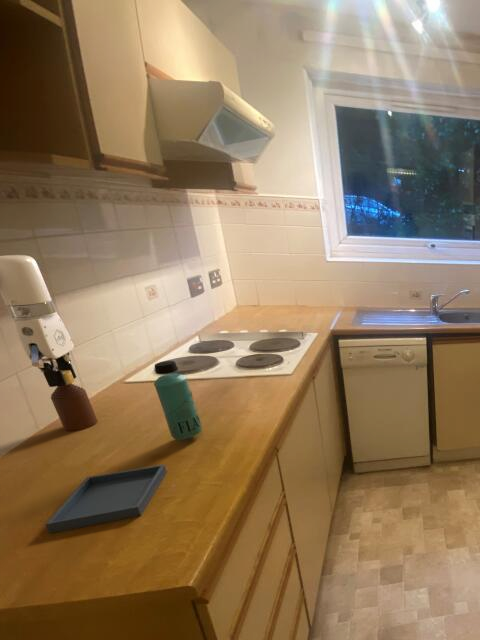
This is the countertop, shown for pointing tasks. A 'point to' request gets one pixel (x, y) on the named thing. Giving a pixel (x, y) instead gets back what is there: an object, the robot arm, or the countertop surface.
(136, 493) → the tray
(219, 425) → the countertop surface
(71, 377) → the cap
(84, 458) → the countertop surface
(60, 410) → the sauce bottle
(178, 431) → the beverage bottle
